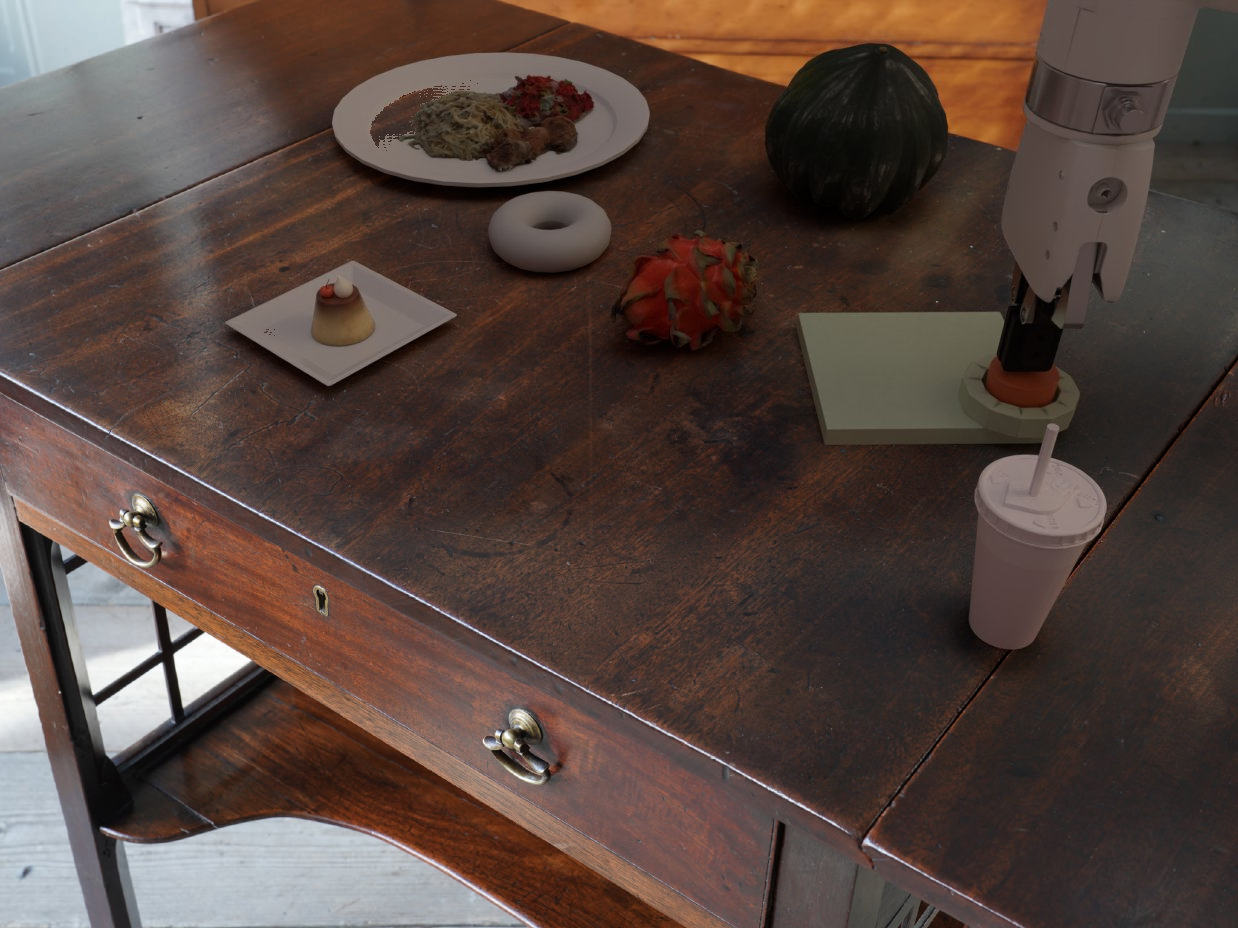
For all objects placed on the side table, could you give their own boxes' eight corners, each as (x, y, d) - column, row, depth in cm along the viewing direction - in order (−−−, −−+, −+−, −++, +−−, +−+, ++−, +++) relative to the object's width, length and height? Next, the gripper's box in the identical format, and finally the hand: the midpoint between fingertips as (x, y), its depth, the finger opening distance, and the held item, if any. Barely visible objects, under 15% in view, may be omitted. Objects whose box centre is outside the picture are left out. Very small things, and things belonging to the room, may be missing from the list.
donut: (465, 247, 100) (540, 294, 94) (461, 209, 98) (538, 254, 92) (559, 210, 105) (637, 252, 99) (558, 172, 103) (637, 213, 97)
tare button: (1043, 370, 82) (1048, 350, 81) (1062, 409, 79) (1068, 389, 78) (978, 370, 82) (982, 351, 81) (995, 409, 79) (1000, 390, 78)
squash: (809, 81, 113) (791, -9, 99) (969, 117, 108) (974, 28, 94) (758, 221, 112) (731, 151, 97) (917, 263, 107) (914, 196, 93)
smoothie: (921, 602, 69) (967, 403, 60) (1014, 571, 71) (1072, 373, 62) (990, 683, 64) (1052, 480, 55) (1087, 647, 66) (1162, 446, 57)
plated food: (270, 165, 111) (263, 130, 109) (433, 53, 132) (430, 21, 130) (571, 229, 102) (570, 192, 100) (693, 97, 123) (694, 65, 121)
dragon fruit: (766, 337, 92) (624, 394, 90) (718, 240, 94) (577, 293, 91) (799, 295, 84) (644, 356, 81) (745, 189, 86) (591, 246, 83)
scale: (1018, 327, 91) (1026, 292, 89) (1082, 454, 79) (1093, 418, 77) (796, 328, 91) (800, 293, 89) (827, 457, 79) (832, 420, 77)
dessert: (226, 335, 89) (213, 278, 86) (354, 272, 96) (346, 217, 93) (330, 399, 83) (320, 340, 80) (459, 327, 90) (454, 271, 87)
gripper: (1218, 151, 62) (1118, 435, 73) (1119, 42, 73) (1046, 303, 85) (1072, 150, 62) (995, 436, 73) (995, 41, 73) (939, 303, 85)
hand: (1022, 364), depth 79 cm, fingers closed
